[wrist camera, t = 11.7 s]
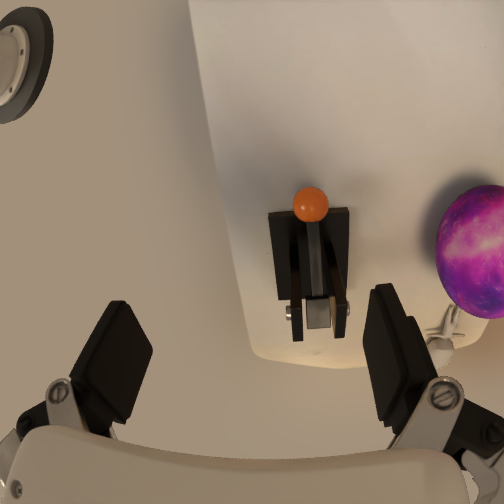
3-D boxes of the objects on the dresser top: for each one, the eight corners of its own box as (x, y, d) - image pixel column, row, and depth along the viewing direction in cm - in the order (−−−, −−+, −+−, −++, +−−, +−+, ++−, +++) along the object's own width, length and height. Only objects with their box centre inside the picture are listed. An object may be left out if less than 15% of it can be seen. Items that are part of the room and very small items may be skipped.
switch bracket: (268, 212, 33) (261, 274, 23) (347, 207, 31) (374, 266, 21) (278, 294, 39) (275, 365, 29) (344, 289, 37) (359, 359, 27)
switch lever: (291, 191, 28) (290, 184, 25) (325, 189, 28) (328, 182, 24) (300, 321, 28) (300, 331, 25) (333, 319, 28) (338, 328, 25)
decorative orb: (411, 275, 35) (452, 360, 22) (418, 169, 28) (494, 231, 15) (490, 261, 32) (539, 328, 20) (506, 167, 25) (581, 217, 12)
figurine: (479, 312, 34) (457, 373, 37) (467, 299, 39) (448, 357, 42) (439, 311, 36) (418, 375, 39) (429, 297, 41) (412, 357, 44)
